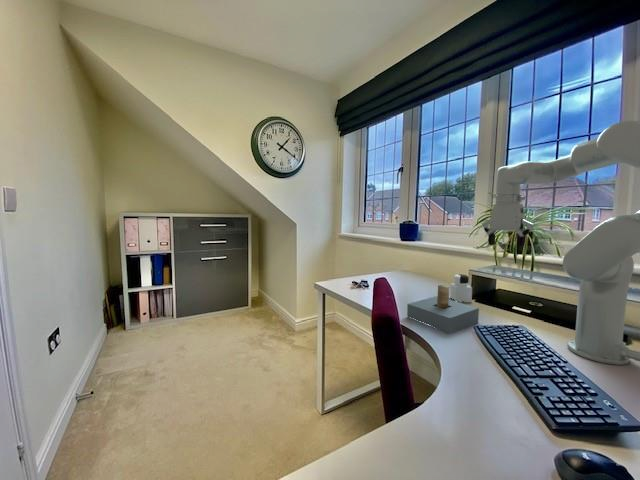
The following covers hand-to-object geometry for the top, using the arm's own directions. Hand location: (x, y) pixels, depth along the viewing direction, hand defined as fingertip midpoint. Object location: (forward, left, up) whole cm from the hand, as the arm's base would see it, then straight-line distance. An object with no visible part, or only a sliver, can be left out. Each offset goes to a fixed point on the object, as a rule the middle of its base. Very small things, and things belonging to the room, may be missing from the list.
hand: (505, 246), depth 104 cm
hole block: (+12, +20, -28) cm, 37 cm away
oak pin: (+12, +20, -27) cm, 36 cm away
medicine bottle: (+22, -9, -28) cm, 37 cm away
